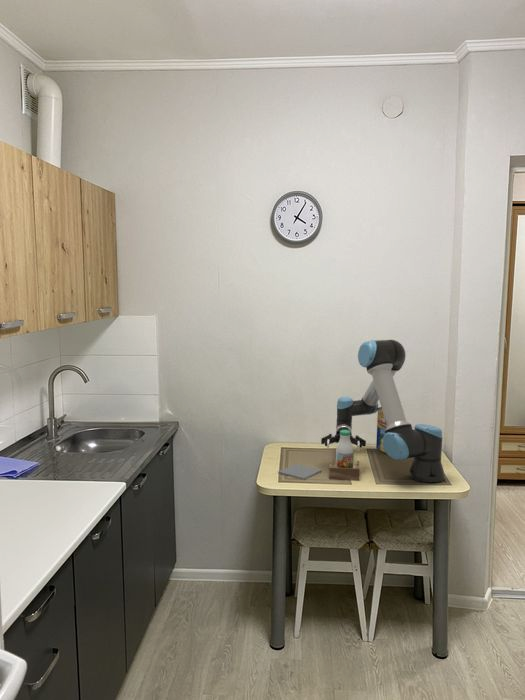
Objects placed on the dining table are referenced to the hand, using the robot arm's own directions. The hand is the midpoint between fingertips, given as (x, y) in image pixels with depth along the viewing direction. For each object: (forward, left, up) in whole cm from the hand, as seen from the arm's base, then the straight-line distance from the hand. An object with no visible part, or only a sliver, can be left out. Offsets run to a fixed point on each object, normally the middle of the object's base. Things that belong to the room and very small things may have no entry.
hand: (343, 447), depth 258 cm
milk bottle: (-1, +1, -12) cm, 12 cm away
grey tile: (+16, +11, -12) cm, 23 cm away
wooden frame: (-1, +1, -12) cm, 12 cm away
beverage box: (-1, -44, -11) cm, 45 cm away
